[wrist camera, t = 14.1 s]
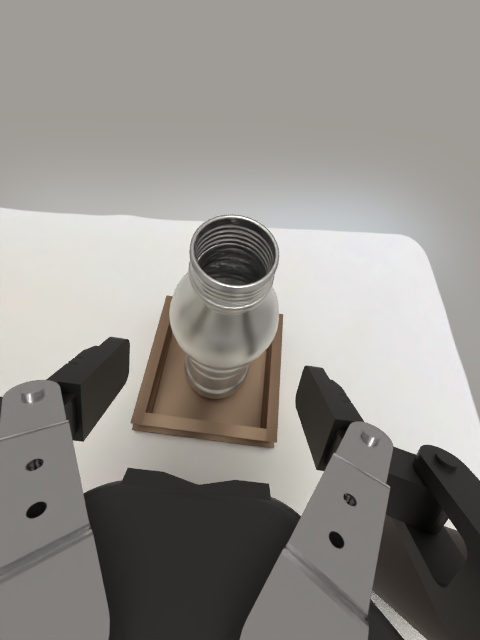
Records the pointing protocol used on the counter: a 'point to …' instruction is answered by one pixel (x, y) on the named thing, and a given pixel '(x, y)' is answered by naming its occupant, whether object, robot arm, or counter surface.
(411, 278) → the counter surface
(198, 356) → the silver metal bottle
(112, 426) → the counter surface
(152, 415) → the square wooden tray
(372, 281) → the counter surface
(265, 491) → the robot arm
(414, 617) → the vinegar
